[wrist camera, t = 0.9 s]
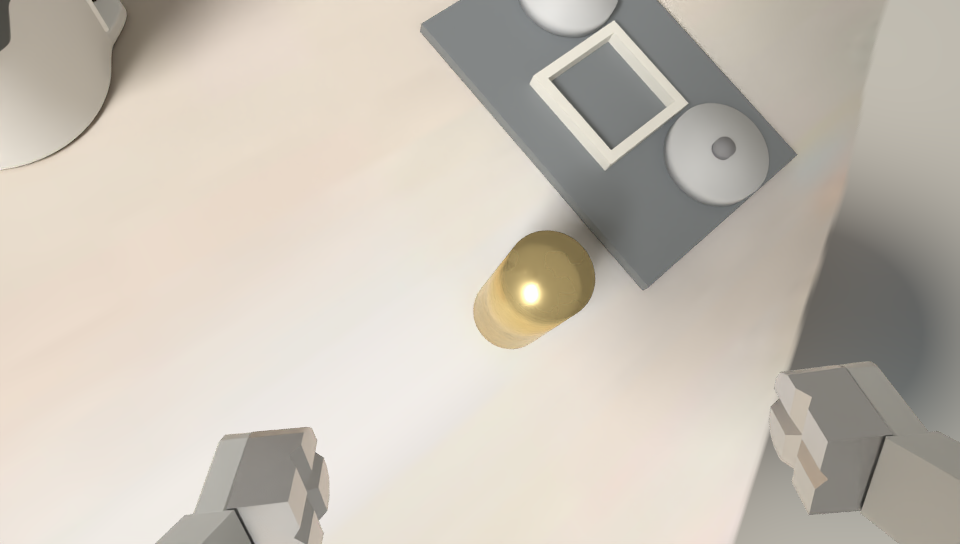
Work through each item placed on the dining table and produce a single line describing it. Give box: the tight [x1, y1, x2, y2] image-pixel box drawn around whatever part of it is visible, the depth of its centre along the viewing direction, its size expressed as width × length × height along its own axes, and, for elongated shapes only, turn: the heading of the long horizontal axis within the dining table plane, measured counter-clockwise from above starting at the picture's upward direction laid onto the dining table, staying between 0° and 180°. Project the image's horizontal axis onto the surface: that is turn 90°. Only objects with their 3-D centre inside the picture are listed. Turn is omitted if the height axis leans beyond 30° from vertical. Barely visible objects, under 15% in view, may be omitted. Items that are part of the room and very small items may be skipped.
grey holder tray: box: [420, 0, 797, 290], centre depth 53 cm, size 26×18×3 cm
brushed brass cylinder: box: [473, 231, 595, 349], centre depth 43 cm, size 5×5×10 cm
